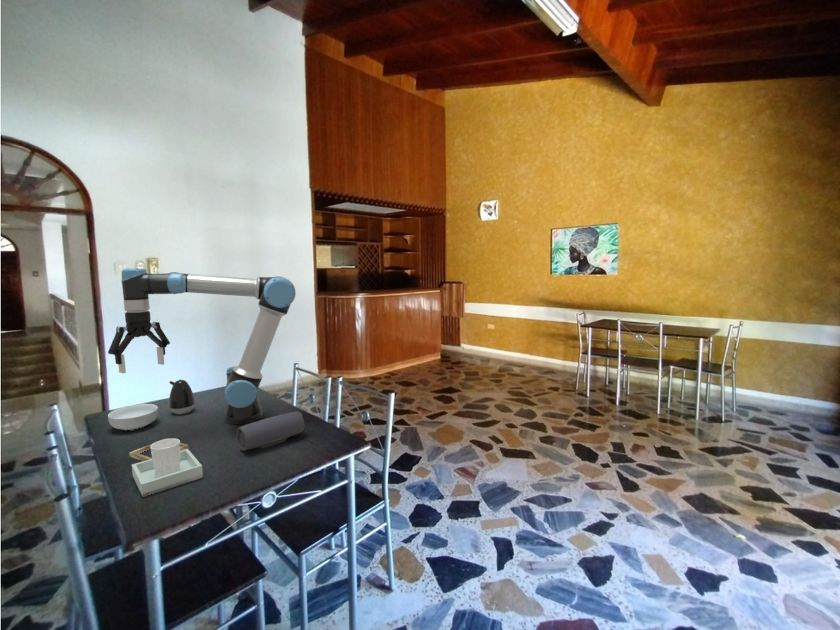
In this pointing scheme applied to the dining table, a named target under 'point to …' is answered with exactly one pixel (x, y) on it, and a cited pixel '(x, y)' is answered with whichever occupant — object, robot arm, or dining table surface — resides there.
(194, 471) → the bin
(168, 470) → the white cup
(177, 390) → the pump dispenser
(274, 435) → the bluetooth speaker
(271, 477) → the dining table surface
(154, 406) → the cereal bowl
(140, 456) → the tan flat square frame
